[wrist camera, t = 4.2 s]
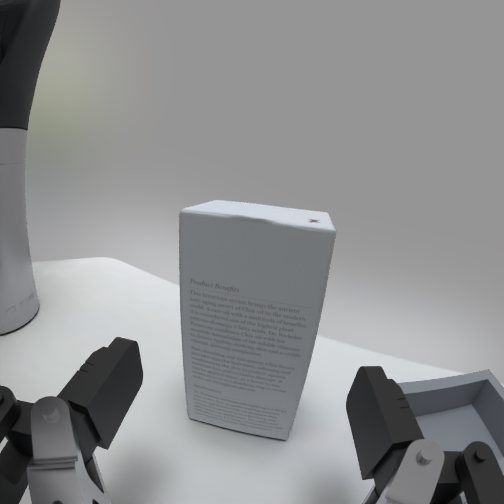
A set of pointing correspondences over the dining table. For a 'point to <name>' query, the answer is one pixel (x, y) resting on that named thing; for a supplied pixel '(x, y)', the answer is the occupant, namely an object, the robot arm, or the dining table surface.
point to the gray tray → (460, 411)
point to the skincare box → (250, 310)
